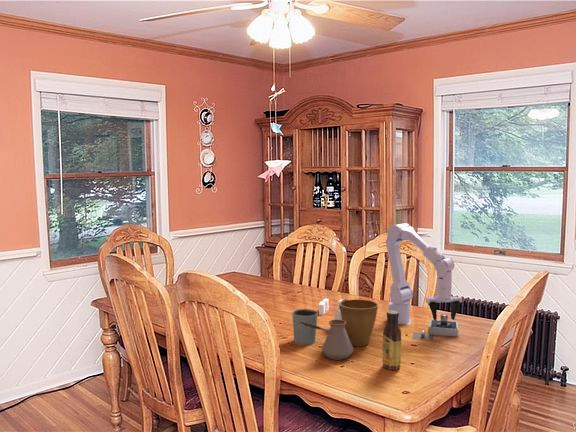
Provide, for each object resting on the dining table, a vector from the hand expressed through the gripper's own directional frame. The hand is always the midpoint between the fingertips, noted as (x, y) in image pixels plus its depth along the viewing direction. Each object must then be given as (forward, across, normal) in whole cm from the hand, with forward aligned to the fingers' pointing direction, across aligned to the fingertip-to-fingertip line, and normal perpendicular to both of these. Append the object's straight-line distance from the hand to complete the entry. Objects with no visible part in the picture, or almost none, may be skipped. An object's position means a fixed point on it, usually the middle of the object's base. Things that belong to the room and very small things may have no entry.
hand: (443, 319), depth 219 cm
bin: (+6, 0, 0) cm, 6 cm away
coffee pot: (+6, -53, -24) cm, 58 cm away
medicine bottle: (+6, -40, +11) cm, 42 cm away
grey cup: (+6, -58, -5) cm, 59 cm away
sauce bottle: (+6, -31, -36) cm, 47 cm away
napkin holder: (+6, -45, +37) cm, 59 cm away
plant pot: (+6, -38, -10) cm, 39 cm away
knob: (+5, 0, 0) cm, 5 cm away
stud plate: (+6, -11, -6) cm, 13 cm away
